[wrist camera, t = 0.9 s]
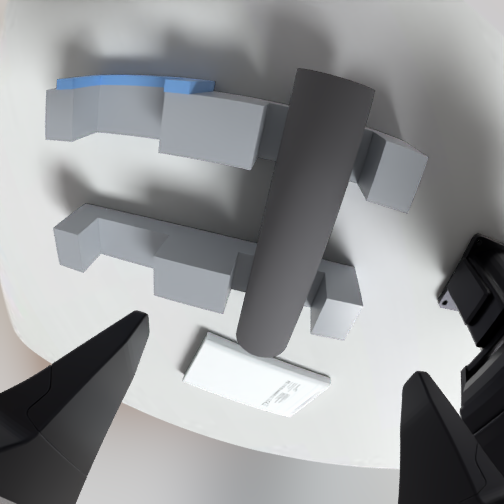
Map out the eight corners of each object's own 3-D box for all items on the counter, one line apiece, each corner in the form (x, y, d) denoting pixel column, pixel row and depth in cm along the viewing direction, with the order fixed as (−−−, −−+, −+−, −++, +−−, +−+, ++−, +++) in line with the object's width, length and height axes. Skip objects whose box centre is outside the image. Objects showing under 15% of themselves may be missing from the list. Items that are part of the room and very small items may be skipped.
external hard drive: (209, 326, 26) (330, 373, 27) (185, 370, 30) (289, 408, 31) (205, 339, 24) (331, 386, 26) (181, 382, 29) (287, 419, 30)
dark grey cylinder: (365, 89, 13) (384, 92, 10) (288, 324, 21) (286, 362, 18) (297, 70, 13) (298, 66, 10) (240, 313, 21) (231, 350, 18)
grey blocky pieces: (405, 130, 15) (434, 146, 11) (339, 300, 21) (344, 342, 18) (87, 75, 15) (45, 80, 12) (88, 237, 22) (58, 265, 18)
